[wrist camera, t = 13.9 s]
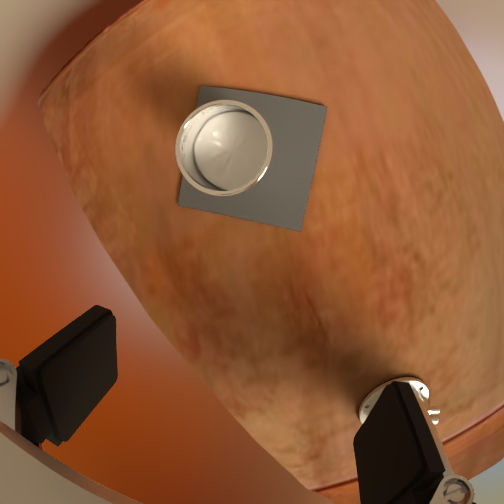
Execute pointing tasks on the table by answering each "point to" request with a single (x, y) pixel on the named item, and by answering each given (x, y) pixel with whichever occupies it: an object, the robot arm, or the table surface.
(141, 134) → the table surface
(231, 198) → the charcoal mat
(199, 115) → the beer glass
